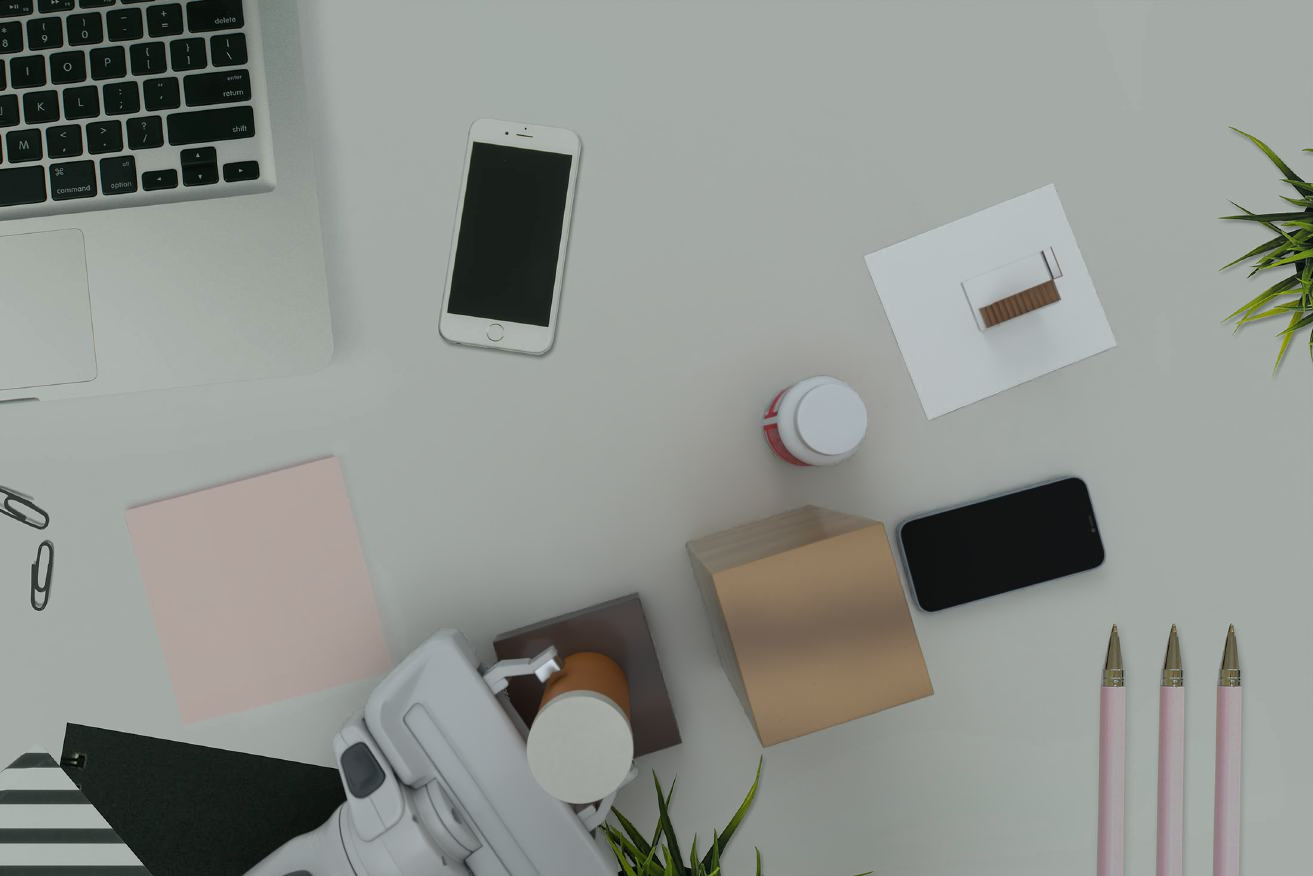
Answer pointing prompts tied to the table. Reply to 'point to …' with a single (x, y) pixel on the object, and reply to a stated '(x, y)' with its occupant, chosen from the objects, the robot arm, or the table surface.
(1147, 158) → the table surface
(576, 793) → the amber bottle
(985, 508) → the smartphone
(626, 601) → the walnut block
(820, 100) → the table surface
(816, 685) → the oak stand
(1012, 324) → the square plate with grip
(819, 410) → the pill bottle
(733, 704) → the table surface
